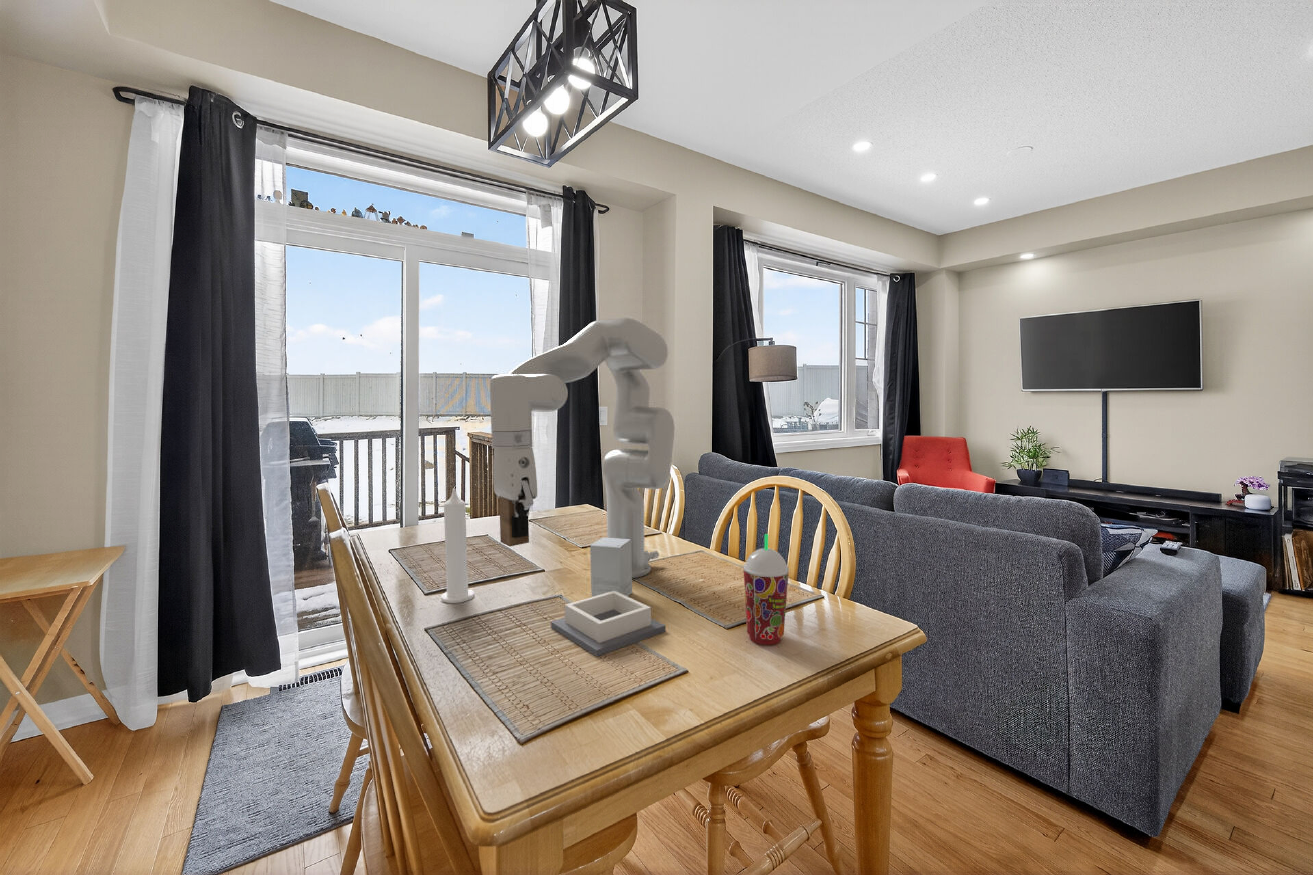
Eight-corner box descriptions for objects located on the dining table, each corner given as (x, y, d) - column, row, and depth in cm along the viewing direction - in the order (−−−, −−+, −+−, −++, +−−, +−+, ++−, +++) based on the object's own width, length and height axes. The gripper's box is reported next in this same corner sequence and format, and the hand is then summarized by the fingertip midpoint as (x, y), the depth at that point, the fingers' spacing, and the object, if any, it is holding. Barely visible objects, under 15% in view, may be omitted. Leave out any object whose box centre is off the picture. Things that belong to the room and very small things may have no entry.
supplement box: (633, 592, 130) (632, 538, 129) (620, 604, 123) (620, 547, 122) (603, 588, 133) (603, 536, 132) (590, 600, 126) (589, 544, 125)
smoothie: (778, 653, 100) (780, 542, 98) (735, 642, 104) (736, 536, 103) (794, 635, 107) (795, 532, 105) (752, 626, 111) (753, 526, 110)
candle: (463, 604, 123) (459, 491, 121) (434, 602, 125) (430, 490, 123) (480, 593, 130) (476, 486, 128) (452, 590, 132) (448, 485, 130)
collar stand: (616, 607, 121) (616, 585, 121) (665, 631, 109) (665, 607, 109) (551, 627, 111) (550, 604, 111) (596, 656, 99) (596, 630, 99)
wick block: (519, 538, 112) (518, 493, 111) (529, 542, 109) (527, 496, 108) (500, 542, 109) (499, 496, 108) (509, 546, 106) (508, 499, 105)
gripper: (551, 441, 103) (553, 539, 105) (511, 435, 116) (513, 523, 118) (513, 444, 98) (516, 547, 100) (475, 438, 111) (478, 529, 113)
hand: (514, 533), depth 109 cm, fingers closed on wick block, 4 cm apart
